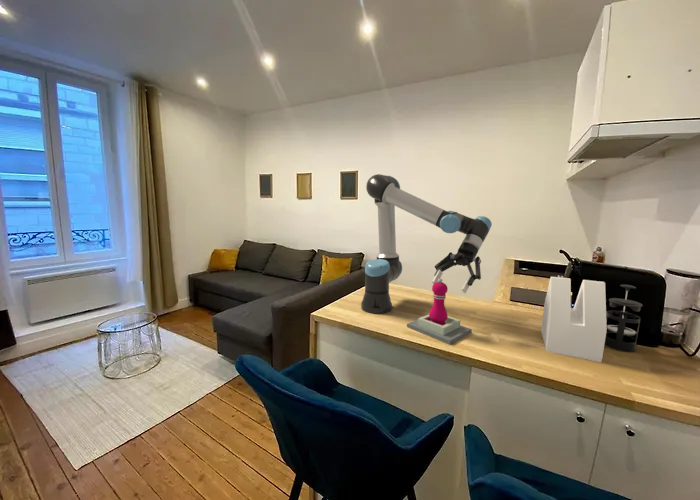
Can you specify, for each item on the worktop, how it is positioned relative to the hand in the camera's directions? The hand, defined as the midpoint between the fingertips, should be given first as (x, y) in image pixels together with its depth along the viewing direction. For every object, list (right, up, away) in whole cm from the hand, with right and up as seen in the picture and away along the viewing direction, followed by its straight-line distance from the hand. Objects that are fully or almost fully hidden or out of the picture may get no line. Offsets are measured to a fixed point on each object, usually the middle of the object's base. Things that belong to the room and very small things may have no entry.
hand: (448, 287), depth 122 cm
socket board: (-3, -18, +1) cm, 18 cm away
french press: (+59, -20, -11) cm, 64 cm away
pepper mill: (-4, -16, +1) cm, 17 cm away
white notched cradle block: (+41, -20, -11) cm, 47 cm away
